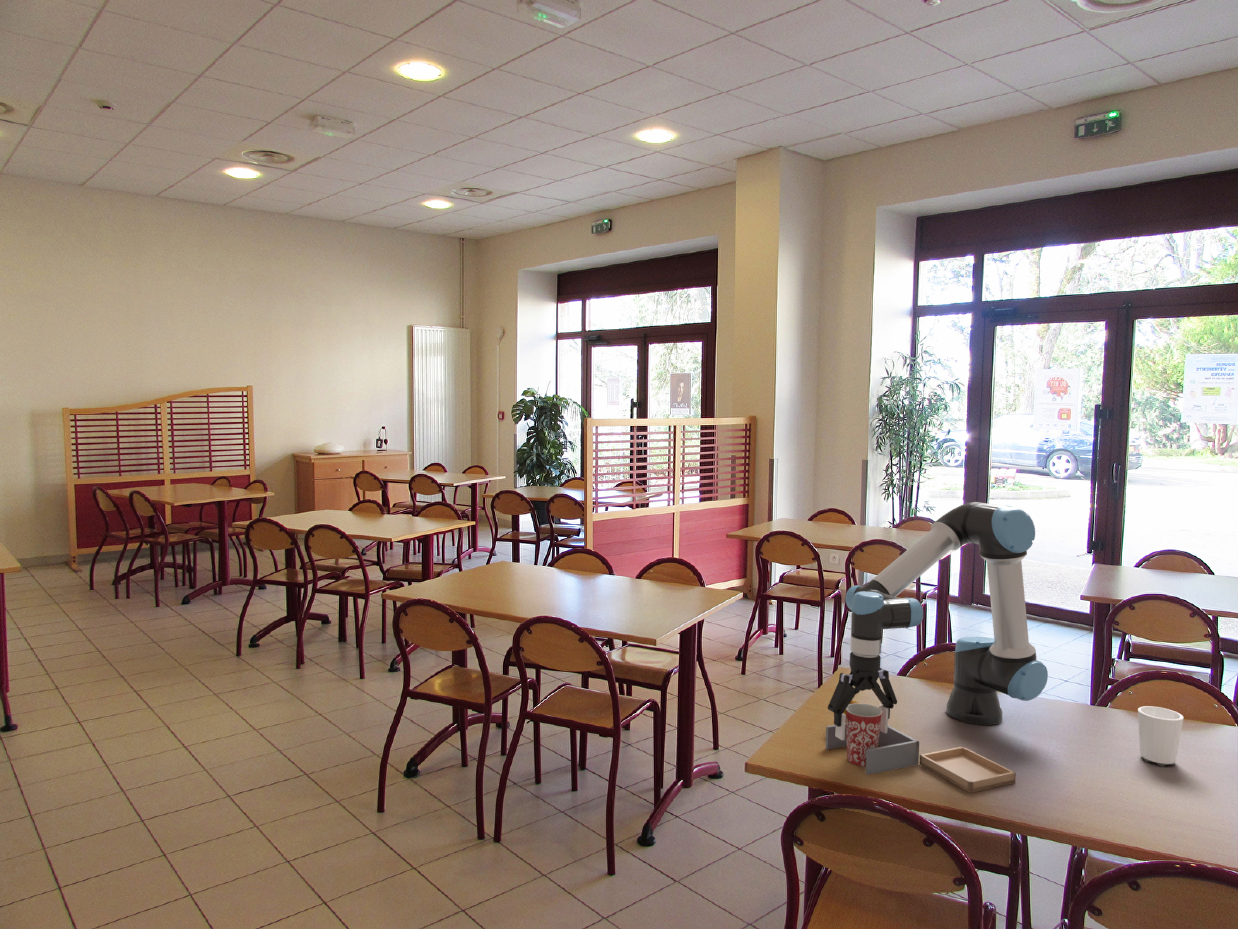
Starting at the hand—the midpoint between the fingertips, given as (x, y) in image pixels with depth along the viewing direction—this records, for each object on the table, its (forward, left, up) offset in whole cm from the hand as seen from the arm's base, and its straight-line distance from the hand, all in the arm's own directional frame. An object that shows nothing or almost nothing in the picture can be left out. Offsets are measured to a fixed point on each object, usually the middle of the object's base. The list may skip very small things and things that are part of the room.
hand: (861, 735), depth 208 cm
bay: (-3, 0, -6) cm, 7 cm away
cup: (-71, +29, -6) cm, 77 cm away
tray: (-19, +17, -6) cm, 26 cm away
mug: (0, 0, -6) cm, 6 cm away
